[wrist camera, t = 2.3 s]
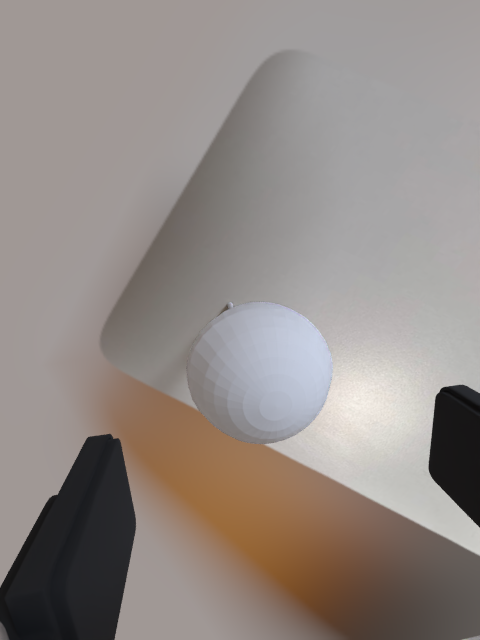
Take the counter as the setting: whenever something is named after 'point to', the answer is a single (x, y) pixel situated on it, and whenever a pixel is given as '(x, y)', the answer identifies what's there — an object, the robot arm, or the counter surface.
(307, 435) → the counter surface
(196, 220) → the counter surface
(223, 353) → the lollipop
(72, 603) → the robot arm
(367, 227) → the counter surface
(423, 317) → the counter surface
